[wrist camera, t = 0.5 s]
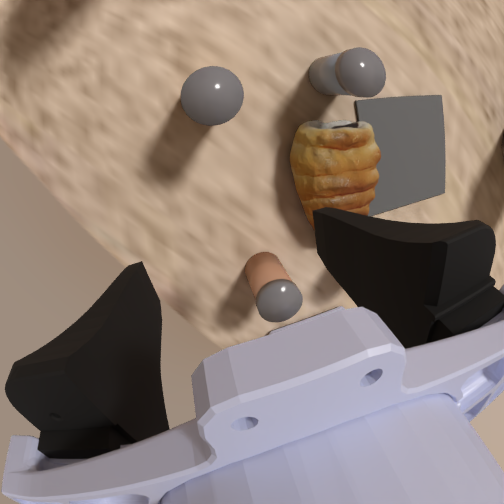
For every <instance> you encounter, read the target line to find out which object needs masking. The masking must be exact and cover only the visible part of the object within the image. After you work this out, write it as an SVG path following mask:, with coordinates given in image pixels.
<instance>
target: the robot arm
mask: <svg viewBox="0 0 504 504" xmlns="http://www.w3.org/2000/svg"><path fill="white" fill-rule="evenodd" d="M312 213H313V220H314V228H315V236H316V244H317V253H318V255H319V256H320V258H321V260H322V262H323V263H324V265H325V266H326V268H327V270H328V271H329V272H330V273H331V275H332V276H333V277H334V278H335V279H336V281H337V282H338V283H339V284H340V285H341V287H342V288H343V289H344V290H345V291H346V293H347V294H348V295H349V296H350V297H351V299H352V300H353V301H354V302H355V304H356V305H357V306H358V307H357V308H351V309H344V307H342V306H340V307H337V308H335V309H332V310H329V311H327V312H324V313H321V314H319V315H316V316H313V317H310V318H308V319H305V320H302V321H299V322H296V323H293V324H291V325H288V326H285V327H282V328H279V329H276V330H273V331H271V332H270V333H269V335H267V336H264V337H260V338H257V339H254V340H251V341H248V342H244V343H241V344H238V345H234V346H231V347H227V348H225V349H223V350H221V351H220V352H217V353H215V354H213V355H211V356H210V357H207V358H205V359H203V361H202V362H201V363H200V364H199V366H198V367H197V369H196V370H195V371H194V373H193V374H192V376H191V377H192V385H193V395H194V403H195V411H196V418H195V419H193V420H191V421H188V422H186V423H184V424H181V425H179V426H177V427H174V428H172V429H169V425H168V420H167V415H166V409H165V404H164V397H163V391H162V382H161V373H160V372H161V370H160V358H161V333H162V332H161V330H162V316H161V305H160V300H159V297H158V295H157V293H156V291H155V289H154V287H153V285H152V283H151V280H150V278H149V276H148V274H147V272H146V269H145V267H144V265H143V263H142V261H141V262H138V263H135V264H132V265H129V266H128V267H126V268H125V269H124V270H123V271H122V272H121V273H120V275H119V276H118V277H117V278H116V280H114V282H113V283H112V284H111V285H110V286H109V287H108V289H107V290H106V291H105V292H104V293H103V294H102V296H101V297H100V298H99V299H98V300H97V301H96V302H95V303H94V304H93V305H92V307H91V308H90V309H89V310H88V311H87V312H86V313H85V314H84V315H83V316H81V317H80V318H79V319H78V320H77V321H76V322H75V323H74V324H73V325H71V326H70V327H69V328H68V329H67V330H65V331H64V332H63V333H61V334H60V335H59V336H57V337H56V338H55V339H53V340H52V341H50V342H49V343H47V344H46V345H44V346H43V347H41V348H40V349H38V350H37V351H35V352H33V353H31V354H29V355H27V356H26V357H24V358H22V359H20V360H18V361H16V362H15V363H14V364H13V366H12V369H11V371H10V374H9V377H8V379H7V382H6V385H5V392H6V395H7V397H8V399H9V401H10V402H11V404H12V405H13V406H14V407H15V408H16V410H17V411H19V412H20V413H21V414H22V415H23V416H24V417H25V418H26V419H27V420H28V421H29V422H31V423H32V424H33V425H34V426H35V427H36V428H38V429H39V430H40V431H41V432H40V438H39V439H38V438H36V437H34V436H25V435H12V436H11V440H10V444H9V449H8V453H7V459H6V464H5V469H4V476H3V482H2V489H1V492H2V493H3V494H4V495H5V496H7V497H9V498H10V499H12V500H14V501H16V502H18V503H20V504H504V472H503V471H502V469H501V468H500V466H499V465H498V463H497V461H496V460H495V458H494V457H493V455H492V454H491V453H490V451H489V449H488V448H487V447H486V445H485V444H484V442H483V441H482V439H481V438H480V436H479V435H478V434H477V432H476V431H475V429H474V428H473V427H472V425H471V424H470V421H471V420H472V419H474V418H475V417H476V416H477V415H478V414H479V413H480V412H481V411H483V410H484V409H485V408H486V407H487V406H488V405H489V404H490V403H491V402H492V401H493V400H494V399H495V398H496V397H498V396H499V395H500V394H501V393H502V392H503V391H504V285H503V286H502V287H501V289H500V290H497V289H496V288H495V287H494V285H495V279H494V278H492V277H491V276H490V271H491V267H492V263H493V258H494V254H495V247H496V240H495V234H494V231H493V230H492V228H491V227H490V226H488V225H486V224H485V223H483V222H481V221H479V220H473V221H465V222H457V223H441V224H424V223H407V222H399V221H391V220H385V219H380V218H375V217H370V216H366V215H361V214H357V213H353V212H349V211H345V210H341V209H336V208H331V207H324V208H320V209H317V210H313V211H312Z"/></svg>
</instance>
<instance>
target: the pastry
mask: <svg viewBox="0 0 504 504" xmlns="http://www.w3.org/2000/svg"><path fill="white" fill-rule="evenodd" d="M380 159H381V151H380V149H379V147H378V146H377V144H376V142H375V139H374V132H373V128H372V126H371V125H370V124H369V123H366V122H364V121H359V122H354V123H351V122H350V121H346V120H339V121H336V122H329V123H323V122H321V121H317V120H314V121H307V122H305V123H303V124H302V125H300V126H299V128H298V129H297V131H296V134H295V136H294V140H293V144H292V148H291V152H290V163H291V170H292V173H293V177H294V181H295V186H296V190H297V193H298V195H299V198H300V201H301V203H302V206H303V209H304V211H305V214H306V217H307V219H308V221H309V223H310V224H311V225H312V227H313V229H314V231H315V228H314V220H313V213H312V211H313V210H317V209H320V208H324V207H331V208H336V209H341V210H345V211H349V212H353V213H357V214H361V215H366V216H367V215H368V214H369V204H370V203H371V201H372V200H374V198H375V186H376V185H377V183H378V179H379V173H378V171H377V169H376V165H377V163H378V162H379V161H380Z"/></svg>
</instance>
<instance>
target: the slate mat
mask: <svg viewBox="0 0 504 504" xmlns="http://www.w3.org/2000/svg"><path fill="white" fill-rule="evenodd" d="M355 103H356V109H357V116H358V122H359V121H364V122H366V123H369V124H370V125H371V126H372V128H373V132H374V139H375V142H376V144H377V146H378V147H379V149H380V151H381V159H380V161H379V162H378V163H377V165H376V169H377V171H378V173H379V179H378V183H377V185H376V186H375V198H374V200H372V201H371V203H370V204H369V214H368V215H367V216H373V215H376V214H379V213H382V212H386V211H389V210H392V209H395V208H398V207H402V206H405V205H408V204H411V203H414V202H418V201H421V200H424V199H427V198H430V197H434V196H437V195H440V194H443V193H445V131H444V115H443V104H442V95H426V96H404V97H389V98H377V99H367V100H358V101H355Z"/></svg>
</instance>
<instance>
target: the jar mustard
mask: <svg viewBox="0 0 504 504" xmlns="http://www.w3.org/2000/svg"><path fill="white" fill-rule="evenodd" d="M243 98H244V92H243V87H242V84H241V82H240V80H239V79H238V78H237V76H236V75H235V74H233V73H232V72H231V71H229V70H227V69H225V68H222V67H218V66H209V67H204V68H201V69H199V70H197V71H195V72H194V73H192V74H191V75H190V76H189V77H188V78H187V79H186V81H185V83H184V84H183V87H182V90H181V104H182V107H183V109H184V111H185V112H186V114H187V115H188V116H189V117H190V118H191V119H192V120H194V121H195V122H197V123H200V124H203V125H209V126H213V125H220V124H223V123H225V122H227V121H229V120H230V119H232V118H233V117H234V116H235V115H236V114H237V113H238V111H239V110H240V108H241V106H242V103H243Z"/></svg>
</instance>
